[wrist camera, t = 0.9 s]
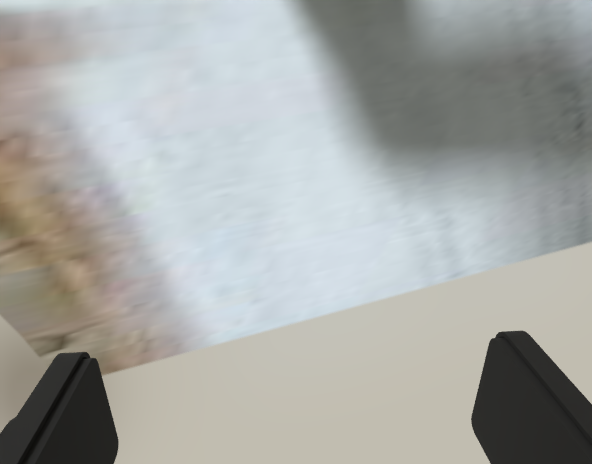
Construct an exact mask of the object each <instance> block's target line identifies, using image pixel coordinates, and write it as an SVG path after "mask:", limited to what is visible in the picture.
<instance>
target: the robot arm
mask: <svg viewBox="0 0 592 464" xmlns="http://www.w3.org/2000/svg"><path fill="white" fill-rule="evenodd" d="M471 420H472V427H473V430H474V433H475V435H476V437H477V439H478V440H479V442H480V444H481V446H482V448H483V450H484V452H485V453H486V455H487V457H488V459H489V461H490V463H491V464H592V404H591V403H590V402H589V401H588V400H587V399H586V398H585V396H584V395H583V394H582V393H581V392H580V391H579V390H578V389H577V388H576V387H575V385H574V384H573V383H572V382H571V381H570V380H569V379H568V377H567V376H566V375H565V374H564V373H563V372H562V371H561V370H560V369H559V367H558V366H557V365H556V364H555V363H554V362H553V361H552V360H551V358H550V357H549V356H548V355H547V354H546V353H545V352H544V351H543V350H542V349H541V347H540V346H539V345H538V344H537V343H536V342H535V341H534V340H533V338H532V337H531V336H530V335H529V334H528V333H526V332H525V331H508V332H499V333H498V334H497V335H496V337H495V338H493V339H491V341H490V343H489V346H488V351H487V355H486V359H485V363H484V367H483V371H482V376H481V380H480V384H479V389H478V392H477V396H476V400H475V405H474V409H473V413H472V418H471ZM117 451H118V437H117V433H116V429H115V425H114V421H113V418H112V414H111V410H110V406H109V403H108V399H107V395H106V391H105V387H104V383H103V380H102V376H101V372H100V368H99V364H98V361H97V360H96V358H90V356H89V354H88V353H87V352H77V353H60V354H58V355H57V356H56V357H55V359H54V360H53V362H52V363H51V365H50V366H49V368H48V369H47V371H46V372H45V374H44V375H43V377H42V378H41V380H40V381H39V383H38V385H37V386H36V387H35V389H34V391H33V392H32V394H31V395H30V397H29V398H28V400H27V401H26V403H25V404H24V406H23V407H22V409H21V410H20V412H19V413H18V415H17V416H16V417H15V418H14V419H12V420H11V421H10V422H9V423H8V424H7V425H6V426H5V428H4V429H3V431H2V432H1V433H0V464H114V461H115V458H116V455H117Z"/></svg>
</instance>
